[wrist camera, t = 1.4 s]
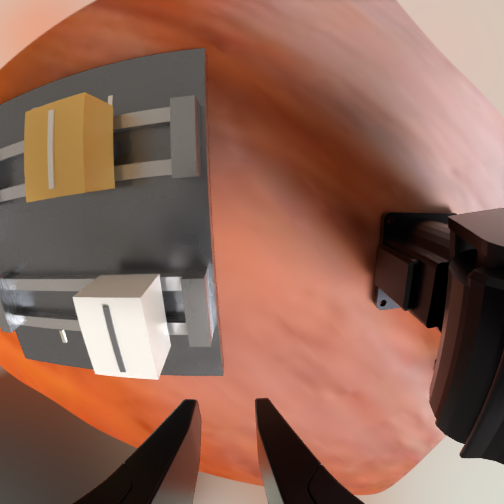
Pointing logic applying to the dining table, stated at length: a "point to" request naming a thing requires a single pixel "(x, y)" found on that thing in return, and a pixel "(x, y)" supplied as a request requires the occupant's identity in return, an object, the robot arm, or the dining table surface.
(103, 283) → the fader ivory
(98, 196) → the console
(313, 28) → the dining table surface
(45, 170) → the fader amber
